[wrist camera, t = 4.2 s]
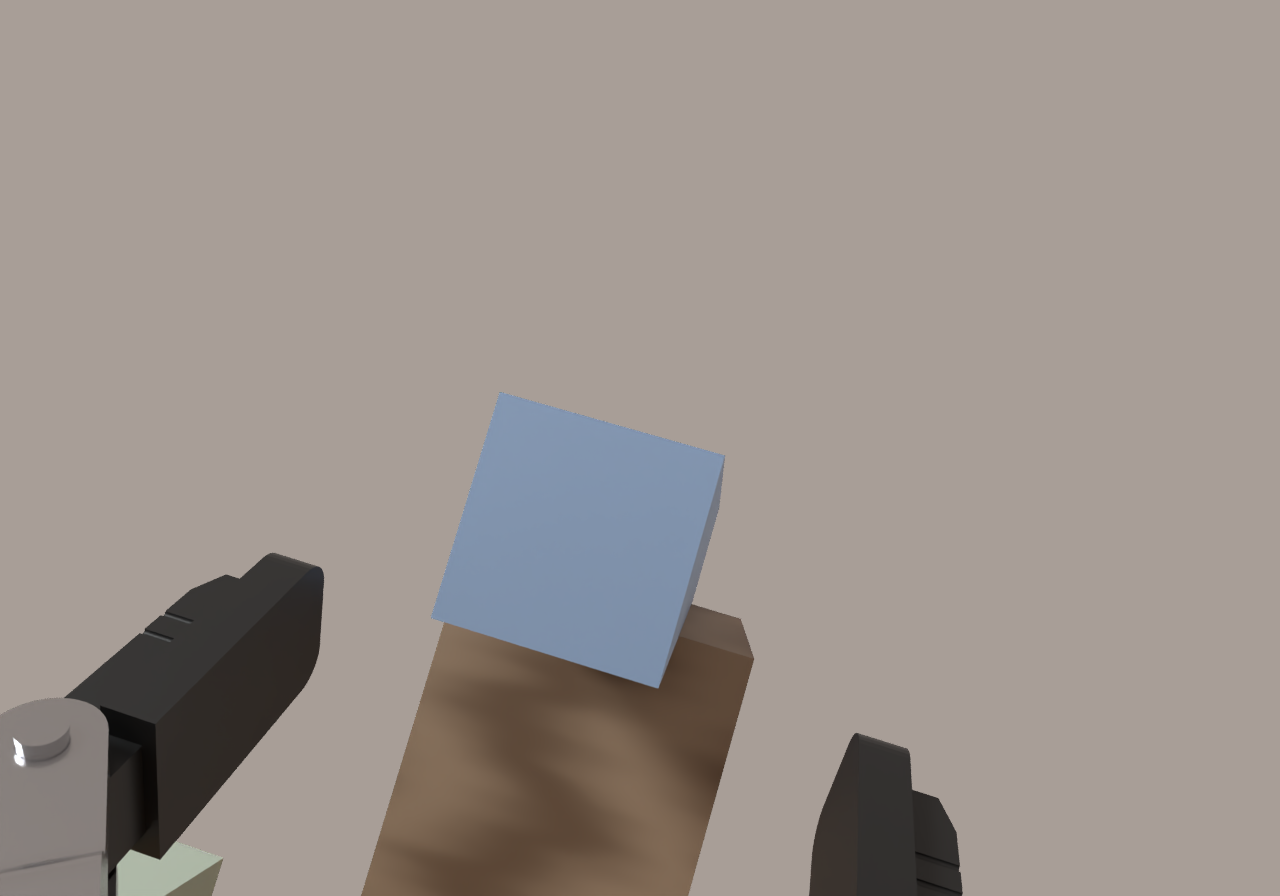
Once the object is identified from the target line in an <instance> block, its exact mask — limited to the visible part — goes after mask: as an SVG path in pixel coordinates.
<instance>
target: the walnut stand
mask: <svg viewBox="0 0 1280 896" xmlns="http://www.w3.org/2000/svg"><path fill="white" fill-rule="evenodd" d="M753 661H754V657H753V654H752V651H751V649H750V645H749V642H748V639H747V636H746V634H745V631H744V627H743V625H742V622H741V619H739V618H736V617H732V616H729V615H726V614H722V613H718V612H715V611H712V610H709V609H706V608H702V607H698V606H696V605H692V604H691V606H690V609H689V611H688V614H687V616H686V619H685V622H684V624H683V627H682V629H681V632H680V634H679V637H678V639H677V642H676V645H675V647H674V650H673V652H672V655H671V657H670V660H669V662H668V665H667V668H666V670H665V673H664V675H663V678H662V680H661V683H660V685H659V688H655V687H651V686H648V685H645V684H642V683H639V682H635V681H632V680H629V679H626V678H622V677H619V676H616V675H613V674H610V673H606V672H603V671H600V670H597V669H594V668H590V667H587V666H584V665H581V664H577V663H574V662H571V661H568V660H565V659H561V658H558V657H555V656H552V655H548V654H545V653H542V652H539V651H536V650H532V649H529V648H526V647H523V646H519V645H516V644H513V643H510V642H507V641H503V640H500V639H497V638H494V637H491V636H487V635H484V634H481V633H478V632H474V631H471V630H468V629H465V628H462V627H458V626H455V625H452V624H449V623H445V622H444V625H443V628H442V632H441V635H440V638H439V641H438V645H437V648H436V651H435V655H434V658H433V661H432V664H431V668H430V671H429V675H428V678H427V681H426V684H425V687H424V691H423V694H422V697H421V701H420V704H419V707H418V711H417V714H416V717H415V721H414V724H413V727H412V730H411V734H410V737H409V740H408V743H407V747H406V750H405V753H404V756H403V760H402V763H401V766H400V770H399V773H398V776H397V780H396V783H395V786H394V789H393V793H392V796H391V799H390V803H389V806H388V809H387V812H386V816H385V819H384V822H383V826H382V829H381V832H380V836H379V839H378V842H377V845H376V849H375V852H374V855H373V859H372V862H371V865H370V868H369V872H368V875H367V878H366V882H365V885H364V888H363V891H362V895H361V896H688V894H689V890H690V886H691V883H692V880H693V876H694V873H695V869H696V865H697V862H698V858H699V854H700V851H701V847H702V844H703V840H704V837H705V833H706V829H707V826H708V822H709V819H710V815H711V811H712V808H713V804H714V801H715V797H716V793H717V790H718V786H719V783H720V779H721V776H722V772H723V768H724V765H725V761H726V758H727V754H728V751H729V747H730V743H731V740H732V736H733V732H734V729H735V726H736V722H737V718H738V715H739V711H740V707H741V704H742V700H743V697H744V693H745V690H746V686H747V683H748V679H749V675H750V672H751V668H752V665H753Z"/></svg>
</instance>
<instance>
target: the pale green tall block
mask: <svg viewBox="0 0 1280 896" xmlns="http://www.w3.org/2000/svg"><path fill="white" fill-rule="evenodd" d="M222 861H223V858H222V857H219V856H216V855H213V854H210V853H208V852H204V851H202V850H199V849H196V848H193V847H190V846H187V845H184V844H181V843H179V842H175V843H174V844H173V845H172V846H171V848H170V849H169V850H168V851H167V852H166V854H165V855H164V856H163V857H162V858H161V860H159V859H156V858H153V857H150V856H147V855H145V854H142V853H139V852H136V851H133V850H129V852H128V853H127V854H126V855H125V856H124V857H123V858H122V860H121V861H120V862H119V863H118V864H117V868H118V896H212V893H213V890H214V886H215V883H216V880H217V877H218V874H219V871H220V867H221V864H222Z"/></svg>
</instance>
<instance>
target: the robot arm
mask: <svg viewBox="0 0 1280 896" xmlns="http://www.w3.org/2000/svg"><path fill="white" fill-rule="evenodd" d="M323 587H324V574H323V571H322V569H321V568H320V567H318V566H315V565H311V564H308V563H305V562H302V561H299V560H295V559H292V558H289V557H286V556H283V555H279V554H276V553H270V554H268V555H266V556H265V557H264V558H262V559H261V560H260V561H259V562H258V563H257V564H256V565H255V566H254V567H252V568H251V569H250V570H249V571H248V572H247V573H246V574H245V575H244V576H242V577H241V578H240V579H238V578H235V577H232V576H229V575H224V576H222V577H219V578H217V579H214V580H212V581H210V582H207V583H205V584H203V585H200V586H198V587H196V588H193V589H191V590H190V591H189V592H188V593H186V594H185V595H184V596H183V597H182V598H180V599H179V600H178V601H177V602H176V603H175V604H174V605H172V606H171V607H170V608H169V609H168V610H166V612H165V615H164V616H159V617H158V618H157V619H156V620H155V621H154V622H152V623H151V624H150V625H149V626H148V627H147V628H145V631H144V633H143V634H138V635H137V636H136V637H135V638H134V639H132V640H131V641H130V642H129V643H128V644H127V645H125V646H124V647H123V648H122V649H121V650H120V651H118V652H117V653H116V654H115V655H114V656H113V657H111V658H110V659H109V660H108V661H107V662H106V663H104V664H103V665H102V666H101V667H100V668H99V669H97V670H96V671H95V672H94V673H93V674H92V675H90V676H89V677H88V678H87V679H86V680H84V681H83V682H82V683H81V684H80V685H79V686H78V687H76V688H75V689H74V690H73V691H72V692H70V693H69V694H68V695H67V696H66V697H65V698H50V699H43V700H37V701H32V702H29V703H25V704H22V705H20V706H17V707H15V708H12V709H10V710H8V711H6V712H4V713H3V714H1V715H0V896H118V868H117V864H118V863H119V862H120V861H121V860H122V858H123V857H124V856H125V855H126V854H127V853H128V852H129V850H133V851H136V852H139V853H142V854H145V855H147V856H150V857H153V858H156V859H159V860H161V858H162V857H163V856H164V855H165V854H166V852H167V851H168V850H169V849H170V848H171V846H172V845H173V844H174V843H175V842H176V840H177V839H178V838H179V837H180V836H181V834H182V833H183V832H184V831H185V830H186V828H187V827H188V826H189V824H191V822H192V821H193V820H194V819H195V818H196V816H197V815H198V814H199V813H200V811H201V810H202V809H203V808H204V807H205V806H206V804H207V803H208V802H209V801H210V800H211V798H212V797H213V796H214V795H215V794H216V792H217V791H218V790H219V789H220V788H221V786H222V785H223V784H224V783H225V782H226V780H227V779H228V778H229V777H230V776H231V775H232V773H233V772H234V771H235V770H236V769H237V767H238V766H239V765H240V764H241V763H242V761H243V760H244V759H245V758H246V757H247V755H248V754H249V753H250V752H251V750H252V749H253V748H254V747H255V746H256V745H257V743H258V742H259V741H260V740H261V739H262V737H263V736H264V735H265V734H266V733H267V731H268V730H269V729H270V728H271V726H272V725H273V724H274V723H275V722H276V721H277V719H278V718H279V717H280V716H281V715H282V713H283V712H284V711H285V710H286V709H287V707H288V706H289V705H290V704H291V703H292V701H293V700H294V699H295V698H296V697H297V695H298V694H299V693H300V692H301V691H302V689H303V688H304V686H305V685H306V683H307V682H308V680H309V678H310V676H311V674H312V672H313V669H314V667H315V664H316V661H317V657H318V654H319V647H320V633H321V618H322V617H321V616H322V603H323ZM959 866H960V863H959V854H958V845H957V834H956V831H955V829H954V827H953V825H952V823H951V821H950V819H949V817H948V816H947V814H946V812H945V810H944V808H943V806H942V804H941V803H940V801H939V799H938V798H936V797H933V796H930V795H927V794H923V793H920V792H917V791H914V790H912V783H911V764H910V753H909V751H908V749H907V748H903V747H900V746H897V745H894V744H890V743H887V742H884V741H881V740H877V739H875V738H871V737H868V736H865V735H861V734H859V733H855V734H854V735H853V737H852V739H851V741H850V743H849V745H848V748H847V750H846V753H845V755H844V757H843V760H842V762H841V765H840V767H839V770H838V772H837V775H836V777H835V780H834V782H833V784H832V787H831V789H830V792H829V794H828V797H827V799H826V802H825V804H824V806H823V809H822V812H821V815H820V818H819V822H818V825H817V830H816V834H815V839H814V845H813V852H812V865H811V879H810V893H809V896H962V893H963V892H962V883H961V873H960V872H959Z"/></svg>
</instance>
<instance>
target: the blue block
mask: <svg viewBox="0 0 1280 896" xmlns="http://www.w3.org/2000/svg"><path fill="white" fill-rule="evenodd" d="M724 459H725V456H724V455H721V454H717V453H714V452H710V451H707V450H703V449H700V448H696V447H693V446H689V445H686V444H682V443H679V442H675V441H671V440H668V439H664V438H661V437H657V436H654V435H650V434H647V433H643V432H640V431H636V430H632V429H629V428H625V427H622V426H619V425H615V424H611V423H608V422H604V421H601V420H597V419H594V418H590V417H587V416H583V415H579V414H576V413H572V412H569V411H565V410H562V409H558V408H555V407H551V406H548V405H544V404H540V403H537V402H533V401H530V400H527V399H523V398H519V397H516V396H512V395H509V394H505V393H502V392H500V393H499V397H498V400H497V403H496V406H495V410H494V413H493V416H492V420H491V423H490V426H489V429H488V433H487V436H486V439H485V442H484V446H483V449H482V452H481V455H480V459H479V462H478V465H477V469H476V472H475V475H474V478H473V482H472V485H471V488H470V491H469V495H468V498H467V502H466V505H465V508H464V511H463V514H462V518H461V522H460V524H459V528H458V531H457V534H456V537H455V541H454V544H453V547H452V550H451V554H450V557H449V561H448V564H447V567H446V570H445V573H444V577H443V580H442V583H441V586H440V590H439V593H438V597H437V600H436V603H435V606H434V609H433V613H432V616H431V618H433V619H436V620H439V621H442V622H445V623H449V624H452V625H455V626H458V627H462V628H465V629H468V630H471V631H474V632H478V633H481V634H484V635H487V636H491V637H494V638H497V639H500V640H503V641H507V642H510V643H513V644H516V645H519V646H523V647H526V648H529V649H532V650H536V651H539V652H542V653H545V654H548V655H552V656H555V657H558V658H561V659H565V660H568V661H571V662H574V663H577V664H581V665H584V666H587V667H590V668H594V669H597V670H600V671H603V672H606V673H610V674H613V675H616V676H619V677H622V678H626V679H629V680H632V681H635V682H639V683H642V684H645V685H648V686H651V687H655V688H659V685H660V683H661V680H662V678H663V675H664V673H665V670H666V668H667V665H668V662H669V660H670V657H671V655H672V652H673V650H674V647H675V645H676V642H677V639H678V637H679V634H680V632H681V629H682V627H683V624H684V622H685V619H686V616H687V614H688V611H689V609H690V606H691V604H692V601H693V598H694V594H695V591H696V587H697V584H698V580H699V576H700V573H701V570H702V566H703V562H704V559H705V555H706V552H707V548H708V545H709V541H710V538H711V534H712V531H713V527H714V524H715V520H716V517H717V513H718V510H719V503H720V494H721V486H722V477H723V468H724Z"/></svg>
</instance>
